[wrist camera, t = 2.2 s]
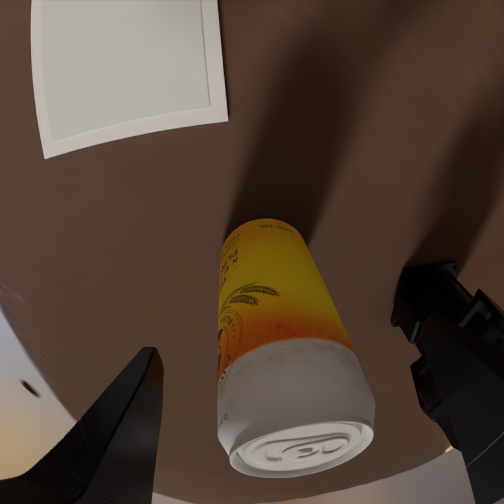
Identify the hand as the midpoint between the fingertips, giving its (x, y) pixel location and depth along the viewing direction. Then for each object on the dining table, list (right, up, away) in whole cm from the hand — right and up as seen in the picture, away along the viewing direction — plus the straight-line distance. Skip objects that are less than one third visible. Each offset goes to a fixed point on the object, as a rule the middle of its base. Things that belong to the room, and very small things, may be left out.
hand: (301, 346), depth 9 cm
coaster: (-10, +16, +5) cm, 19 cm away
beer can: (-1, +3, +13) cm, 14 cm away
